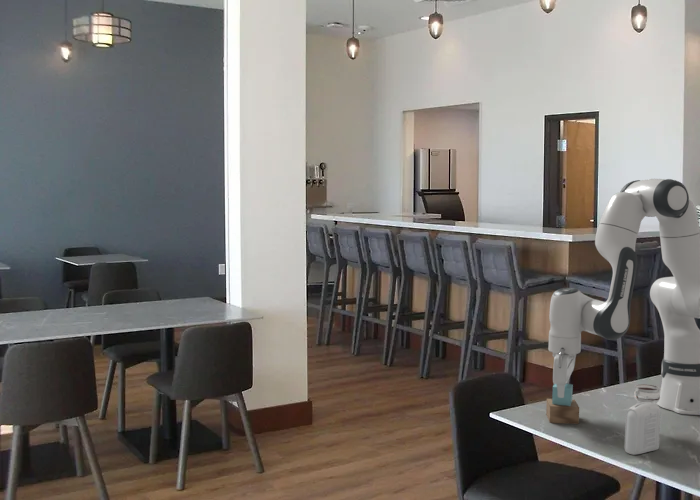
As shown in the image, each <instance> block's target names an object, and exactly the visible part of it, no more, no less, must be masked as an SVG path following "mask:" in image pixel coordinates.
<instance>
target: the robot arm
mask: <svg viewBox="0 0 700 500" xmlns="http://www.w3.org/2000/svg"><path fill="white" fill-rule="evenodd" d="M620 189H621V190H620V192H617V193H615V194H613V195H612V196H611V197H610V199H609V201H608V202H607V203H606V207H605V208H604V210H603V212H602V215H601V217H600V220H599V224H598V226H597V229H596V233H595V236H594V237H595V238H594V239H595V240H594V245H595V248H596V250H597V251H598V254H600V256H602V257H603V258H604V260H606V261H607V262H609V263H608V264H610V266H611V268H612V275H611V276H612V277H611V283H610V287H609V294H608V298H607V299H606V301H603V300H599V299H596V298H592V297H590V296H588V295H586V294H584V293H582V291H580V289H578V288H575V287H563V288H562V287H561V288H559V289H557V290H555V291H554V292H553V293H552V295H551V297H550V303H549V313H548V314H549V316H548V317H549V318H548V319H549V320H548V321H549V324H550V327H549V331H548V349H547V350H548V351H549V352H550V353H552V357H553V369H552V383H553V385H554V384H557V391H558V397H559V398H564V396H565V385H566V384H570V378H571V375H572V373H573V372H574V369H575V365H576V357H577V354H580V353H581V350H582V349H581V348H582V347H581V345H582V332H587V333H589V334H592V335H595V336H596V335H597V336H599V337H601V338H603V339H606V340H608V341H616V340H619V339H620V338H622V337H623V336H624V335H625V334H626V333H627V331H628V330H629V328H630V324H631V304H632V297H633V294H634V292H633V291H634V287H635V286H634V285H635V280H636V275H637V269H638V255H637V253H636V244H637V243H636V242H637V238H638V235H639V231H640V227H641V223H642V220H643V219H644V218H645V217H647V218H655V217H656V218H657V220H658V223H659V224H658V227H659V228H658V229H659V231H658V232H659V238H660V239H659V240H660V249H661V258H662V262H663V264H664V265H665V266H666V267H667V268H668V269H669V271H670V272H671V274H672V276H665V277H660V278H657V279H656V280H655V281H654V282H653V283H652V284H651V286H650V290H649V296H650V300H651V303H653V305H654V306H655V307H656V309H657V311H658V313H659V317H660V319H661V323H662V328H663V336H664V337H663V338H664V340H663V341H664V348H663V349H664V350H663V352H664V353H663V358H662V361H661V373H660V374H661V377H662V378H661V386H660V390H659V393H660V399H659V401H658V402H657V403H656V404H657V405H658V406H659V408H663V409H666V410H670V411H672V412H675V413H678V414H681V415H695V416H700V328H699V327H698V325H697V323H696V320H695V319H700V224H699V218H698V215H697V210H696V208H695V205H694V203H693V201H692V200H691V199H690V196H689V192H688V189H687V187H686V186H685V185H684V184H683V182H681V181H680V180H679V181H678V180H675V179H671V178H667V179H665V178H663V179H662V178H649V179H644V180H643V179H642V180H639V179H638V180H632V181H630V182H628V183H626V184H625V185H624V186H623V187H622V188H620Z"/></svg>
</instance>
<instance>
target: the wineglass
mask: <svg viewBox="0 0 700 500" xmlns="http://www.w3.org/2000/svg"><path fill="white" fill-rule="evenodd" d="M633 387H634V389H635V390H634V392H633V398H634V400H636V402H637V404H638V403H641V402H651V403H654V404H657V402H658V401H659V399H660V389H661V387H659V386H658V385H654V384H653V385H652V384H645V383H641V384H639V383H638V384H635V385H634V386H633Z"/></svg>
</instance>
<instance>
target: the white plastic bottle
mask: <svg viewBox="0 0 700 500" xmlns="http://www.w3.org/2000/svg"><path fill="white" fill-rule="evenodd" d="M661 414H662V412H661V407H660V406H659V405H657V403H656V404H654V403H651V402H641V403H638V402H637V403H636V404H633V405H632V406H630V407H629V408H628V409H627V410H626V412H625V423H624V424H625V427H624V451H625V452H626V453H627V454H630V455H632V456H635V455H641V454H644V453H648V452H652V451H657V450H658V449H659V448H660V433H661Z"/></svg>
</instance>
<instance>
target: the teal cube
mask: <svg viewBox="0 0 700 500" xmlns="http://www.w3.org/2000/svg"><path fill="white" fill-rule="evenodd" d="M573 385H574V384H572V383H569V384H566V385H565V396H564V398H559V397H558V391H557V384H554V383H553V385H552V394H551V395H552V398H551V399H552V404H556V405H566V406H570V405H571V403H572V400H573V389H574V388H573V387H574V386H573Z"/></svg>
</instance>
